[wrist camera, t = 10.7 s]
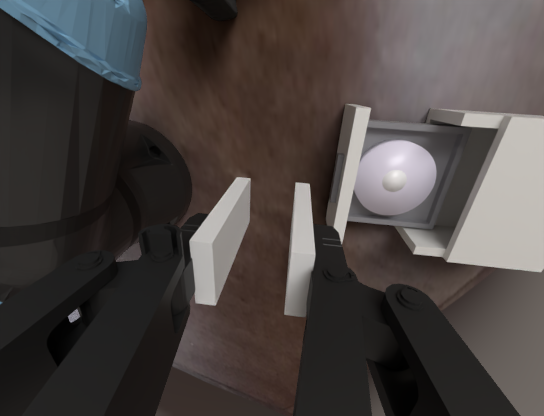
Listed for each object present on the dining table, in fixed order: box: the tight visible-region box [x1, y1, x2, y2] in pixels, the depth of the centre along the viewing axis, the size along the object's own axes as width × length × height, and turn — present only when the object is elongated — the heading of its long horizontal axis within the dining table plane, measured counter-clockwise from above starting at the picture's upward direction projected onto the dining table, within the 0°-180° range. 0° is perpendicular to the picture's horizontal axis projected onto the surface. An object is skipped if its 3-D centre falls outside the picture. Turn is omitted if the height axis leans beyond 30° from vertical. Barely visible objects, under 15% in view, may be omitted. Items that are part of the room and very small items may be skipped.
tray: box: [326, 104, 472, 244], centre depth 26 cm, size 12×14×6 cm
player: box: [394, 108, 544, 272], centre depth 25 cm, size 12×14×7 cm
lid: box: [354, 139, 436, 215], centre depth 26 cm, size 8×8×2 cm
